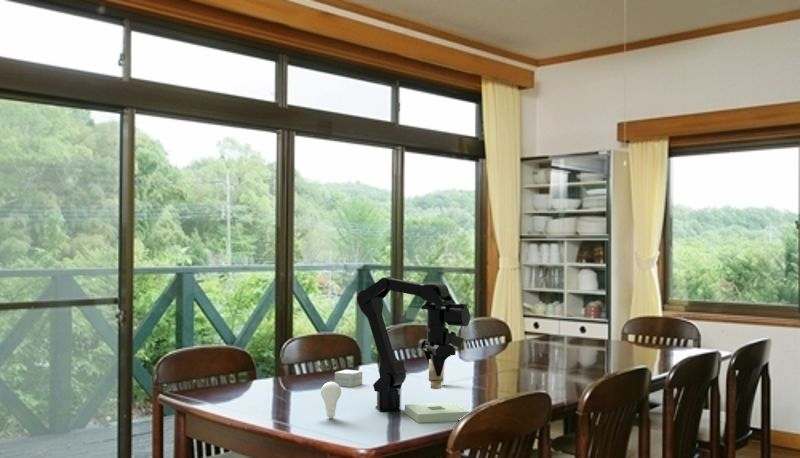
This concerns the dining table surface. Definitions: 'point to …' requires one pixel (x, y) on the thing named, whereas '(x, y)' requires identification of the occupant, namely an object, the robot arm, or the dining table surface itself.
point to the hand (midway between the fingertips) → (436, 375)
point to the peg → (434, 377)
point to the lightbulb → (330, 397)
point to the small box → (348, 378)
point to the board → (435, 412)
